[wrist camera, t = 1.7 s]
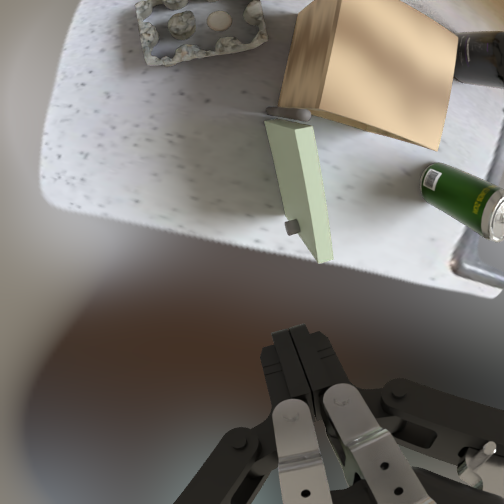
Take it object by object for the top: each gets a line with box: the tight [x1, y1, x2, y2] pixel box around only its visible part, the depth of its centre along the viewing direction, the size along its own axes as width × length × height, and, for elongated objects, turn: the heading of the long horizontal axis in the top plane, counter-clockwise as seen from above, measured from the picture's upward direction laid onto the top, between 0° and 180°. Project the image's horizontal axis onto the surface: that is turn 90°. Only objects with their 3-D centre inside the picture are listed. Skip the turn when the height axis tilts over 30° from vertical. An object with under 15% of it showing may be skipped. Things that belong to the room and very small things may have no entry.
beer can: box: [420, 162, 504, 242], centre depth 27 cm, size 5×5×12 cm
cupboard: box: [266, 0, 458, 151], centre depth 21 cm, size 11×11×11 cm
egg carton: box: [135, 0, 268, 67], centre depth 20 cm, size 11×8×4 cm
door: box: [264, 118, 334, 264], centre depth 25 cm, size 2×10×10 cm, turn 13°
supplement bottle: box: [453, 31, 504, 89], centre depth 20 cm, size 7×7×12 cm
